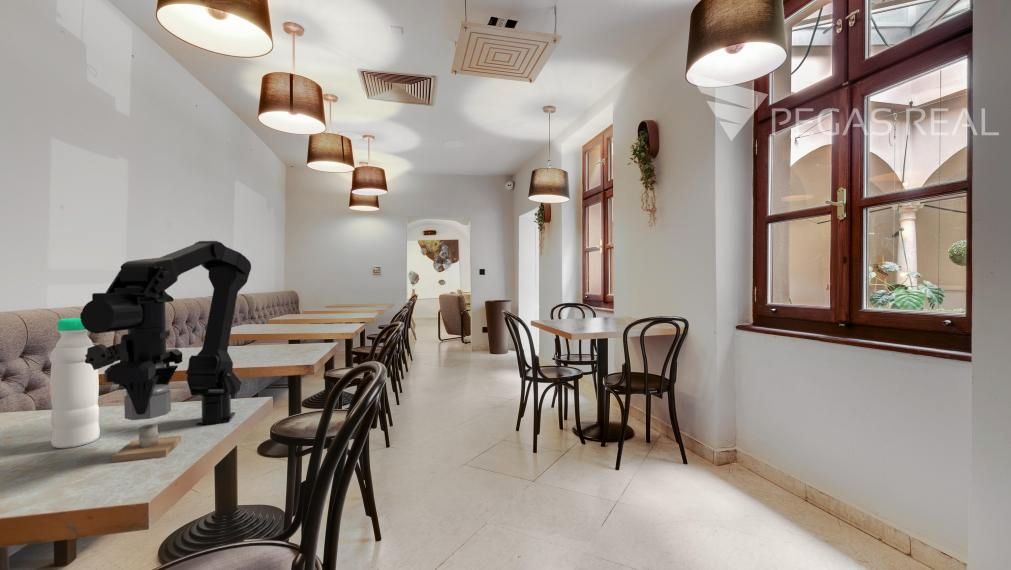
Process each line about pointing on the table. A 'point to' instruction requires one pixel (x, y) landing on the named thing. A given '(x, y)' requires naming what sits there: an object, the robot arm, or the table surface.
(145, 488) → the table surface
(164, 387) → the cap
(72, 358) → the water bottle
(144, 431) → the stud block
